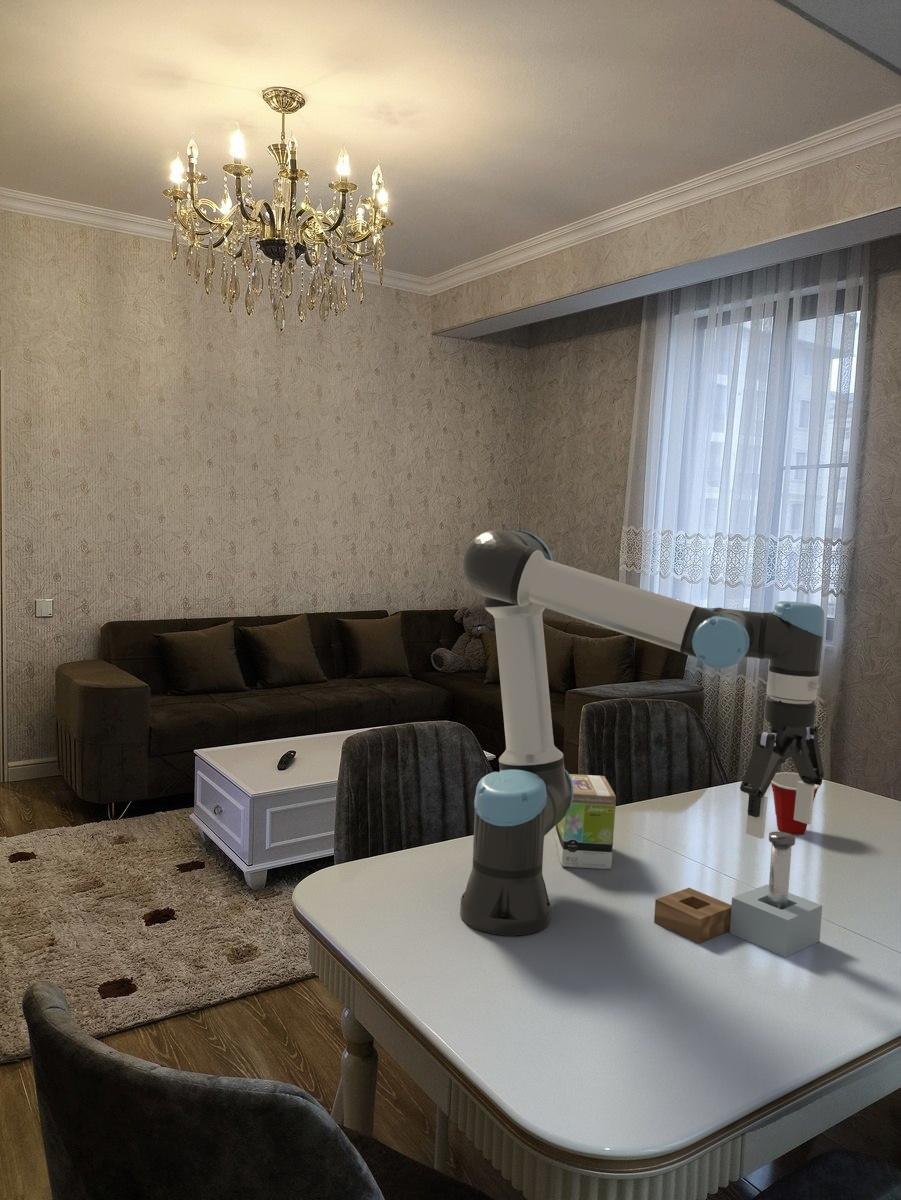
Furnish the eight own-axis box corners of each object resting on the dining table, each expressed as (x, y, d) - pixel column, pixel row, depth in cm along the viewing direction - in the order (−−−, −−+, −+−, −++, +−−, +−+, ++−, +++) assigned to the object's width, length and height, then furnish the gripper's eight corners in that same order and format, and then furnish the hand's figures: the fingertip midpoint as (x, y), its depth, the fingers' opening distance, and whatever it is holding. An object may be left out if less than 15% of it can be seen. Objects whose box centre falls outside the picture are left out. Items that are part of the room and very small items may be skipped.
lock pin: (779, 945, 142) (786, 841, 141) (757, 936, 145) (764, 834, 144) (793, 939, 144) (800, 837, 143) (771, 930, 147) (777, 830, 146)
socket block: (785, 957, 138) (787, 920, 137) (729, 933, 146) (732, 897, 145) (819, 941, 144) (822, 905, 143) (764, 918, 152) (767, 884, 151)
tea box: (613, 870, 171) (617, 795, 170) (560, 868, 171) (564, 792, 170) (601, 843, 186) (605, 773, 185) (553, 840, 186) (556, 771, 185)
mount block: (698, 943, 141) (700, 919, 141) (654, 922, 149) (655, 899, 148) (732, 929, 147) (734, 906, 147) (687, 909, 154) (689, 887, 154)
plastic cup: (758, 831, 197) (762, 778, 196) (773, 820, 206) (776, 769, 205) (810, 843, 191) (814, 788, 190) (822, 830, 199) (826, 778, 198)
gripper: (767, 710, 131) (755, 850, 133) (854, 697, 146) (841, 822, 148) (724, 700, 137) (712, 834, 139) (811, 689, 152) (800, 809, 154)
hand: (779, 828), depth 144 cm, fingers open, 13 cm apart
